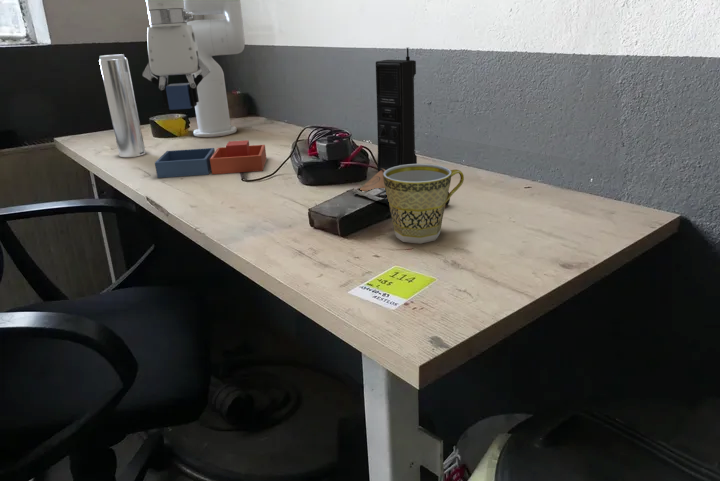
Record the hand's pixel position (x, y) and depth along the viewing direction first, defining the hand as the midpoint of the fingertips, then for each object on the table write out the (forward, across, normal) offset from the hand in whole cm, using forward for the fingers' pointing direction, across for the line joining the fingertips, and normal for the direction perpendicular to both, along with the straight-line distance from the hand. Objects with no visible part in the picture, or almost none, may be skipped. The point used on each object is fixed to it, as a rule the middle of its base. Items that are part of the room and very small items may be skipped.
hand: (182, 105), depth 127 cm
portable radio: (+15, -46, +14) cm, 50 cm away
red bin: (+14, -11, +1) cm, 18 cm away
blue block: (0, 0, 0) cm, 0 cm away
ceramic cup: (+15, -45, +51) cm, 70 cm away
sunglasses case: (+15, -44, +34) cm, 57 cm away
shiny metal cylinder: (+14, +19, -20) cm, 31 cm away
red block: (+14, -11, +1) cm, 18 cm away
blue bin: (+14, +1, +1) cm, 14 cm away
